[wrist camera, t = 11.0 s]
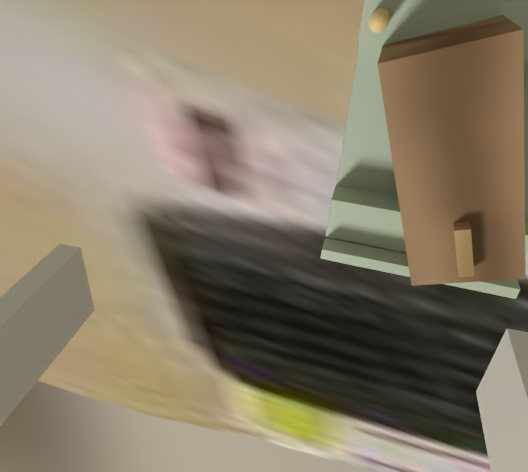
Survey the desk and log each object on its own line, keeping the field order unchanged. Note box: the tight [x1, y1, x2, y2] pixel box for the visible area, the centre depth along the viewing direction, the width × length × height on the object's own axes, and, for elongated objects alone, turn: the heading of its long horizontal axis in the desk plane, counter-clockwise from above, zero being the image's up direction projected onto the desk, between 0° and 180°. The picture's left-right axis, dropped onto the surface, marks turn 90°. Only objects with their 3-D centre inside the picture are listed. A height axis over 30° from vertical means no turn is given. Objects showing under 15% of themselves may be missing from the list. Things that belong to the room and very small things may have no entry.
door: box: [378, 15, 525, 286], centre depth 25 cm, size 6×13×6 cm, turn 17°
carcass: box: [321, 0, 528, 299], centre depth 27 cm, size 13×19×5 cm
